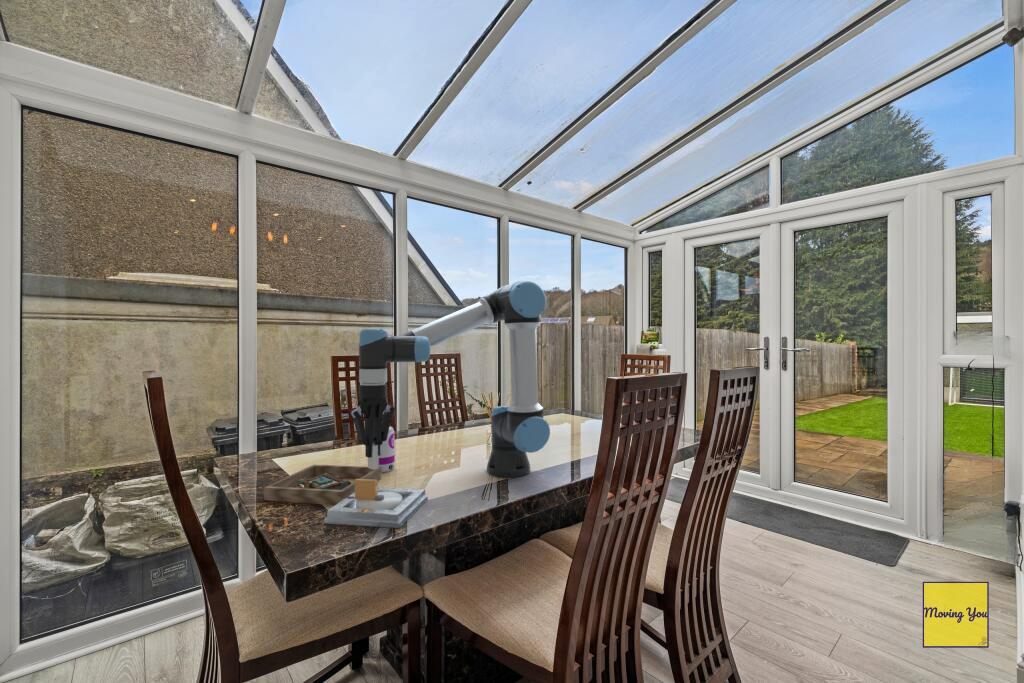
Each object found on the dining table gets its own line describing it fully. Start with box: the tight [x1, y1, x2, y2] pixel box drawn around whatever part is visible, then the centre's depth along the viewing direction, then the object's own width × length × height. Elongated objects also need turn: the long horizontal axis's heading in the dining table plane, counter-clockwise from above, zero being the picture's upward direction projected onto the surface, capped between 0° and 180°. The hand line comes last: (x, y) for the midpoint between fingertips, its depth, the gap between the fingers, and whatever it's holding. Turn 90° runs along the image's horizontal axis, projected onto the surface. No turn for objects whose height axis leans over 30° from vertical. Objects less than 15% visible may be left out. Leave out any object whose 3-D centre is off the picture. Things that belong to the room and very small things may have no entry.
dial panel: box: [323, 486, 429, 529], centre depth 125 cm, size 20×20×3 cm
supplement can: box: [373, 426, 396, 473], centre depth 163 cm, size 8×8×15 cm
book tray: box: [263, 463, 383, 506], centre depth 142 cm, size 24×24×4 cm
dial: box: [354, 478, 402, 510], centre depth 125 cm, size 13×12×7 cm
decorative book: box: [298, 473, 353, 490], centre depth 141 cm, size 13×18×5 cm
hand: (372, 468), depth 129 cm, fingers closed
